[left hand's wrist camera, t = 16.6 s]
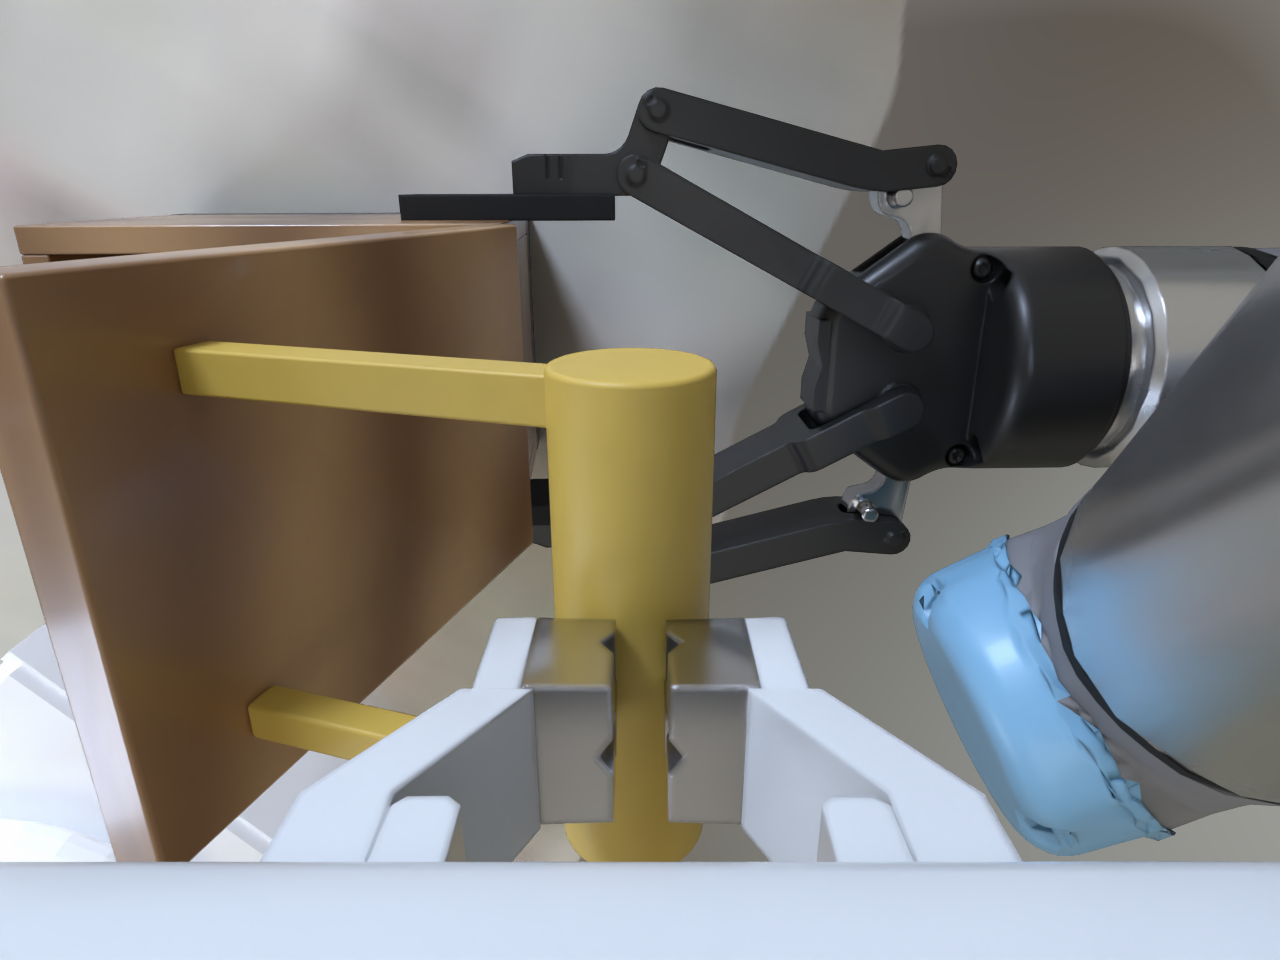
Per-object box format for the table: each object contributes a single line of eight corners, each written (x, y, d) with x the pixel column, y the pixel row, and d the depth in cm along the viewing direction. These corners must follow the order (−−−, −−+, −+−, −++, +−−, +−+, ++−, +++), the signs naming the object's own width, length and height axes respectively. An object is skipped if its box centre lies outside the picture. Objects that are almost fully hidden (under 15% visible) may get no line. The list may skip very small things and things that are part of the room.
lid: (115, 869, 13) (652, 1043, 10) (-62, 270, 10) (655, 300, 7) (503, 538, 25) (795, 579, 22) (482, 223, 22) (821, 227, 19)
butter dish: (139, 551, 36) (-203, 811, 21) (436, 786, 41) (331, 1133, 26) (-77, 769, 40) (-498, 1123, 25) (219, 961, 44) (17, 1352, 30)
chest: (228, 447, 34) (94, 544, 25) (185, 213, 31) (10, 225, 22) (539, 441, 35) (520, 533, 25) (527, 212, 31) (502, 222, 22)
